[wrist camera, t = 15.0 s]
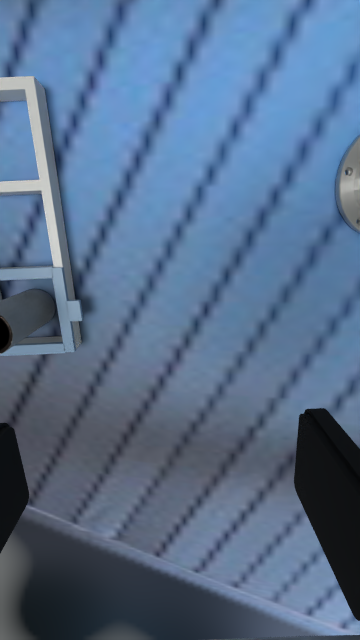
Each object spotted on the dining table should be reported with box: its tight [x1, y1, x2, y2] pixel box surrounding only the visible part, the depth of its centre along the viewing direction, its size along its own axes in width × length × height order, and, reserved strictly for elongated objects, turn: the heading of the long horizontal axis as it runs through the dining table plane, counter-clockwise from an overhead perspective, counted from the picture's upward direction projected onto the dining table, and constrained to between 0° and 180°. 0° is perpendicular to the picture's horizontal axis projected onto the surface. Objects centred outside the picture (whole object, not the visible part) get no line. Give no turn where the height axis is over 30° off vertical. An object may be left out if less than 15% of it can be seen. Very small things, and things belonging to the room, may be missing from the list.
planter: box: [0, 289, 55, 354], centre depth 32 cm, size 4×4×10 cm
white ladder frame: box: [0, 76, 83, 356], centre depth 33 cm, size 13×28×3 cm, turn 3°
